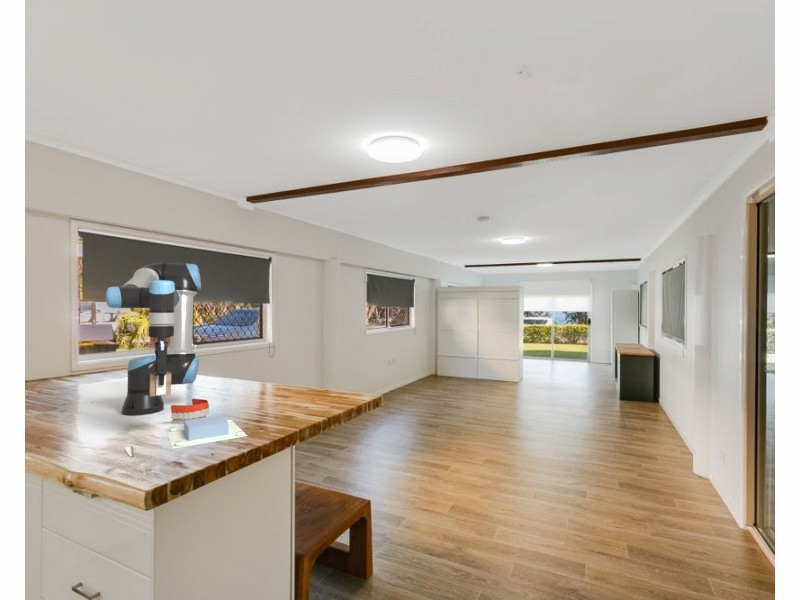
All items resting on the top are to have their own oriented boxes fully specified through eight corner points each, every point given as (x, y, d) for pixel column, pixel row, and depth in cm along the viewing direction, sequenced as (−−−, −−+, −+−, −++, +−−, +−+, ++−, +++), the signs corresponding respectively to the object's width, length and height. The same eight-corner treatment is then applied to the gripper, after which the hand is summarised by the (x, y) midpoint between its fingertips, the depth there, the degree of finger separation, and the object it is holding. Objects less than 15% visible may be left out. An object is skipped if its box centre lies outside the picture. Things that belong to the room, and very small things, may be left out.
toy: (193, 429, 147) (194, 407, 148) (169, 427, 149) (169, 405, 150) (216, 420, 160) (216, 399, 160) (192, 418, 162) (193, 398, 162)
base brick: (183, 431, 140) (184, 420, 140) (221, 426, 147) (221, 415, 147) (188, 441, 130) (188, 428, 130) (228, 434, 137) (228, 422, 137)
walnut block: (149, 393, 139) (149, 373, 139) (169, 391, 142) (169, 371, 143) (149, 396, 134) (150, 375, 134) (170, 394, 137) (171, 374, 138)
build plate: (165, 433, 141) (166, 427, 142) (232, 424, 154) (232, 418, 154) (172, 452, 123) (172, 445, 123) (247, 439, 136) (247, 432, 136)
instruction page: (124, 448, 127) (124, 447, 127) (149, 443, 131) (149, 442, 131) (130, 457, 119) (130, 456, 119) (157, 451, 124) (157, 450, 124)
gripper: (147, 324, 145) (146, 389, 144) (149, 326, 129) (148, 399, 128) (171, 324, 149) (170, 387, 148) (176, 326, 133) (175, 396, 133)
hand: (160, 392), depth 138 cm, fingers closed on walnut block, 6 cm apart
